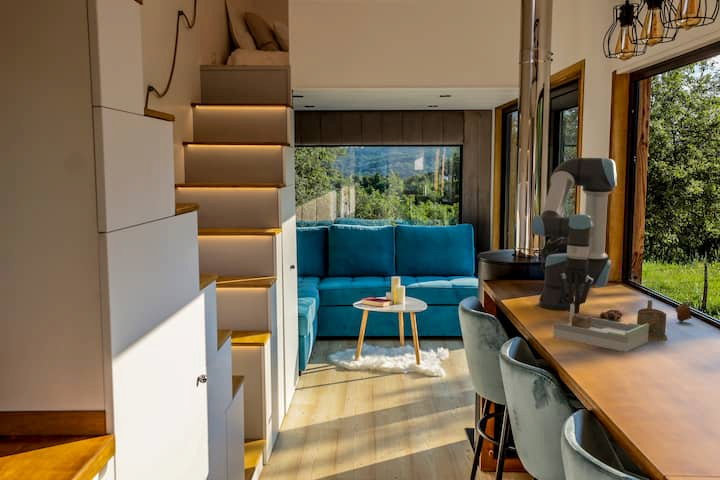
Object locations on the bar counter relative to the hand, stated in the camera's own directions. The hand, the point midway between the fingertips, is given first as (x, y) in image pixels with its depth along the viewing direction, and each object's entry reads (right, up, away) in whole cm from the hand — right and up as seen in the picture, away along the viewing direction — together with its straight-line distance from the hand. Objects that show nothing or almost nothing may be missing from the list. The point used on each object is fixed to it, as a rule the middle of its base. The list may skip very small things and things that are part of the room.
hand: (572, 321), depth 254 cm
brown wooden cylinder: (+29, -6, +3) cm, 30 cm away
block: (+2, -2, -2) cm, 4 cm away
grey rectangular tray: (+8, -6, -6) cm, 12 cm away
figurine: (+23, -3, +25) cm, 33 cm away
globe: (+27, +5, +93) cm, 97 cm away
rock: (+54, -4, +27) cm, 60 cm away
